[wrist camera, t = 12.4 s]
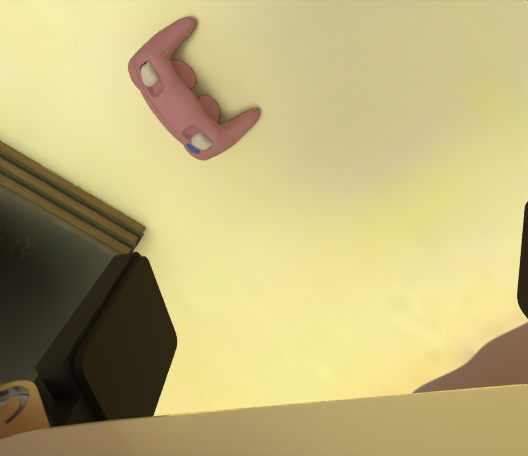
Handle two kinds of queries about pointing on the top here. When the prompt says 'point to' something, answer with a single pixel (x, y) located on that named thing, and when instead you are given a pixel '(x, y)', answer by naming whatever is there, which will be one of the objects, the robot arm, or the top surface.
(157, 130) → the top surface
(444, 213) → the top surface
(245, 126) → the video game controller
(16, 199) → the dark grey slab stack
